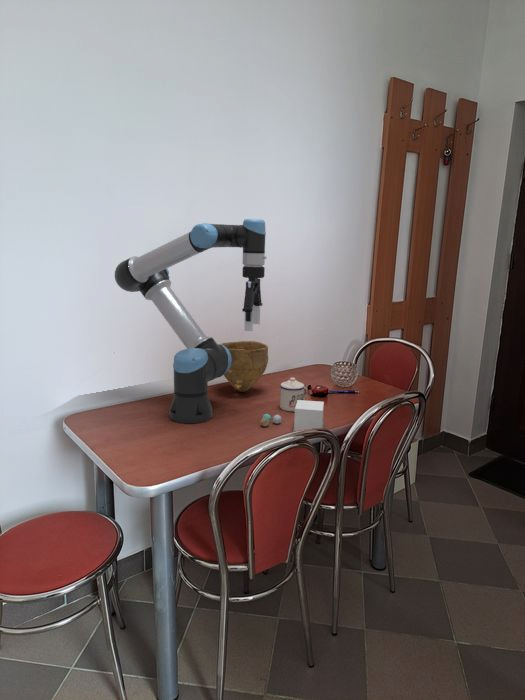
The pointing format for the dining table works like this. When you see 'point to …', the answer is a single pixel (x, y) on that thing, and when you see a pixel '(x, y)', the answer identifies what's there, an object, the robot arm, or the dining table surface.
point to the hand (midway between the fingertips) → (252, 327)
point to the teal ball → (267, 416)
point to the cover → (308, 415)
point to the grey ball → (277, 419)
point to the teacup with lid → (291, 394)
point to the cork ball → (265, 422)
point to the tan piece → (246, 363)
